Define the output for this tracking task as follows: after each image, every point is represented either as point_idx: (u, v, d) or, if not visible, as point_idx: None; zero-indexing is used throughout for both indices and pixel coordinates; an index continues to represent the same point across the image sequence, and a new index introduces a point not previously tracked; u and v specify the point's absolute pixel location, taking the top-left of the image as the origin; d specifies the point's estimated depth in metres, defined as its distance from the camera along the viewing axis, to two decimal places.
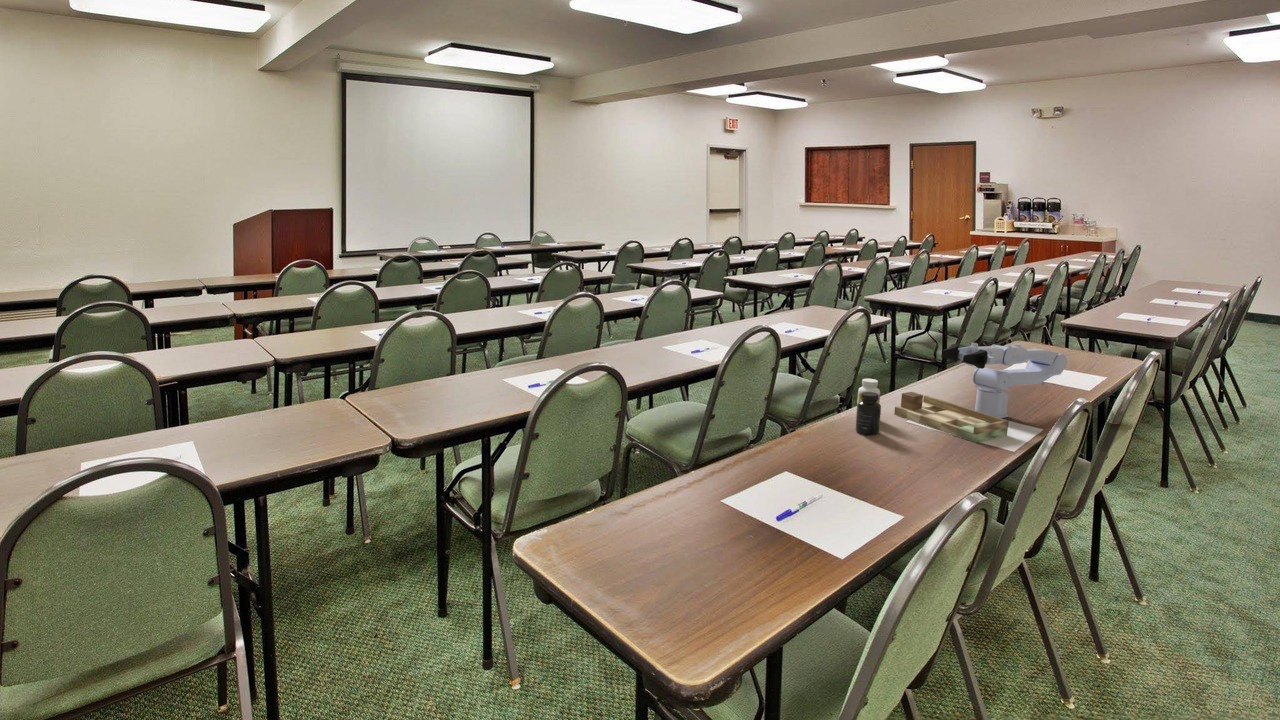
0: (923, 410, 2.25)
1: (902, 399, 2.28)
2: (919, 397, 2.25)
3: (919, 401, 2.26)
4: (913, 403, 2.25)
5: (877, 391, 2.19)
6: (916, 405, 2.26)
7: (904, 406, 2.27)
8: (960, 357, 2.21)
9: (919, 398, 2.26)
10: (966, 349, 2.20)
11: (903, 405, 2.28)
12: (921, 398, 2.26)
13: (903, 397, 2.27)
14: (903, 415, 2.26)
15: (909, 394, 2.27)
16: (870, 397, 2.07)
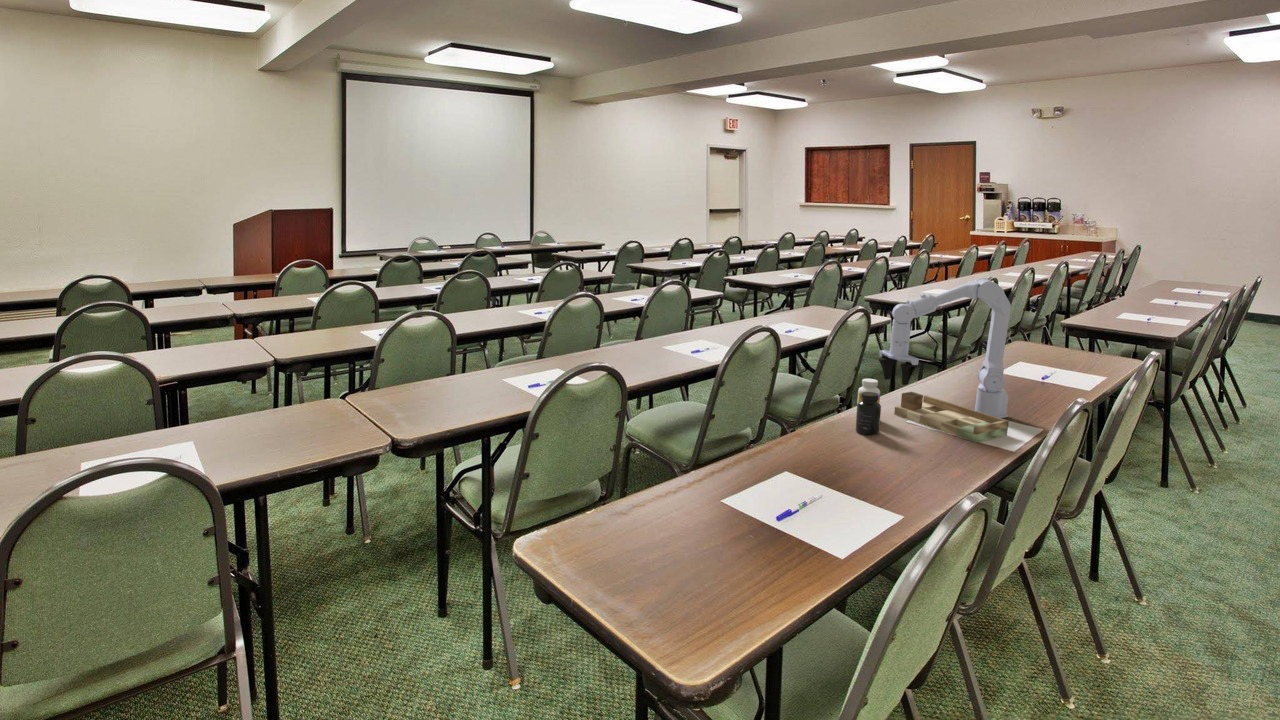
0: (923, 410, 2.25)
1: (902, 399, 2.28)
2: (919, 397, 2.25)
3: (919, 401, 2.26)
4: (913, 403, 2.25)
5: (877, 391, 2.19)
6: (916, 405, 2.26)
7: (904, 406, 2.27)
8: None
9: (919, 398, 2.26)
10: None
11: (903, 405, 2.28)
12: (921, 398, 2.26)
13: (903, 397, 2.27)
14: (903, 415, 2.26)
15: (909, 394, 2.27)
16: (870, 397, 2.07)
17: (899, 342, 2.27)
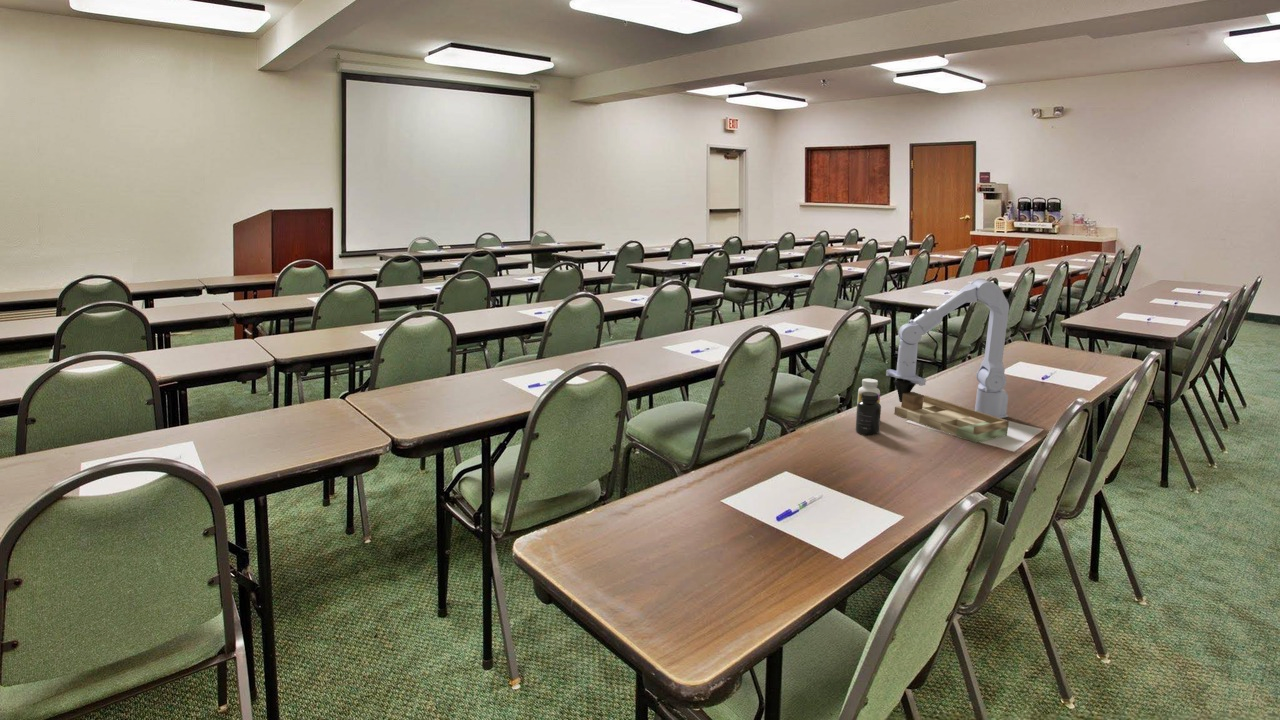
0: (923, 410, 2.25)
1: (903, 399, 2.28)
2: (920, 397, 2.25)
3: (920, 401, 2.26)
4: (914, 403, 2.24)
5: (877, 391, 2.19)
6: (917, 405, 2.25)
7: (905, 406, 2.27)
8: None
9: (920, 399, 2.25)
10: None
11: (904, 405, 2.27)
12: (922, 398, 2.26)
13: (904, 397, 2.27)
14: (903, 415, 2.26)
15: (910, 394, 2.26)
16: (870, 397, 2.07)
17: (906, 362, 2.25)
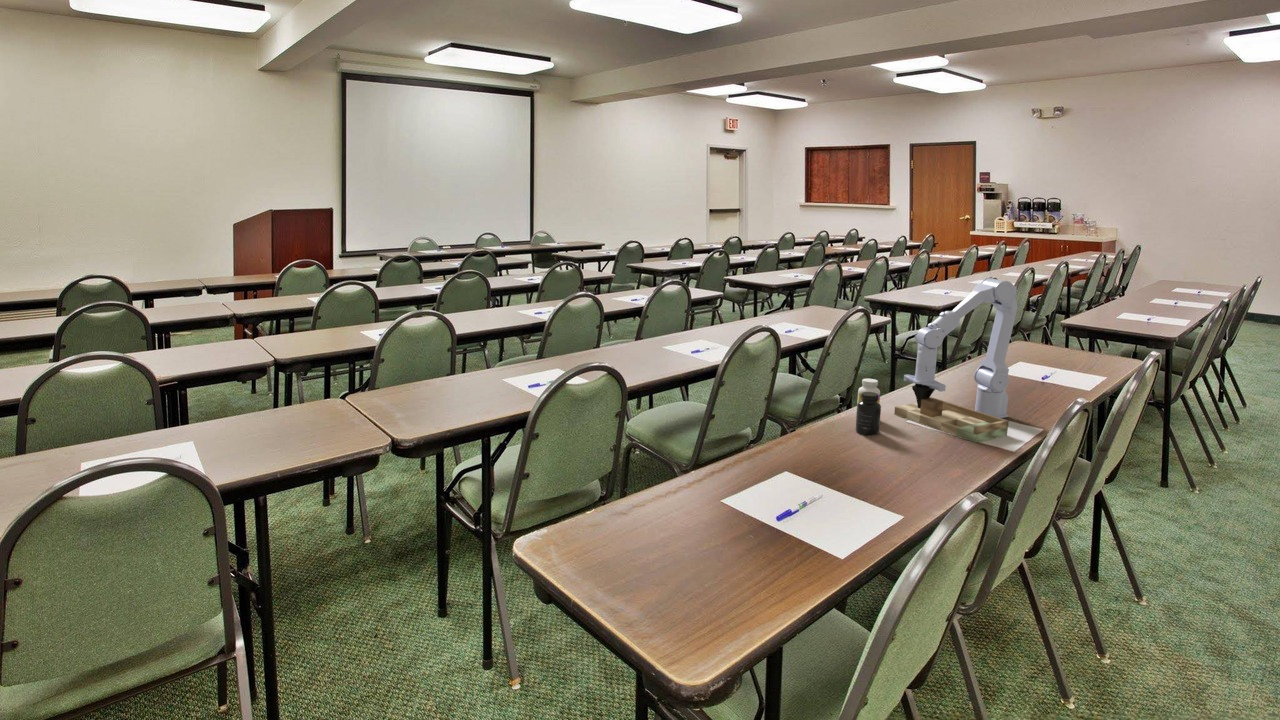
0: None
1: (921, 405, 2.21)
2: (939, 403, 2.19)
3: (939, 408, 2.19)
4: (933, 409, 2.18)
5: (877, 391, 2.19)
6: (936, 412, 2.19)
7: (923, 413, 2.21)
8: None
9: (939, 405, 2.19)
10: None
11: (922, 411, 2.21)
12: (941, 404, 2.19)
13: (923, 403, 2.21)
14: (903, 415, 2.26)
15: (929, 400, 2.20)
16: (870, 397, 2.07)
17: (925, 367, 2.19)
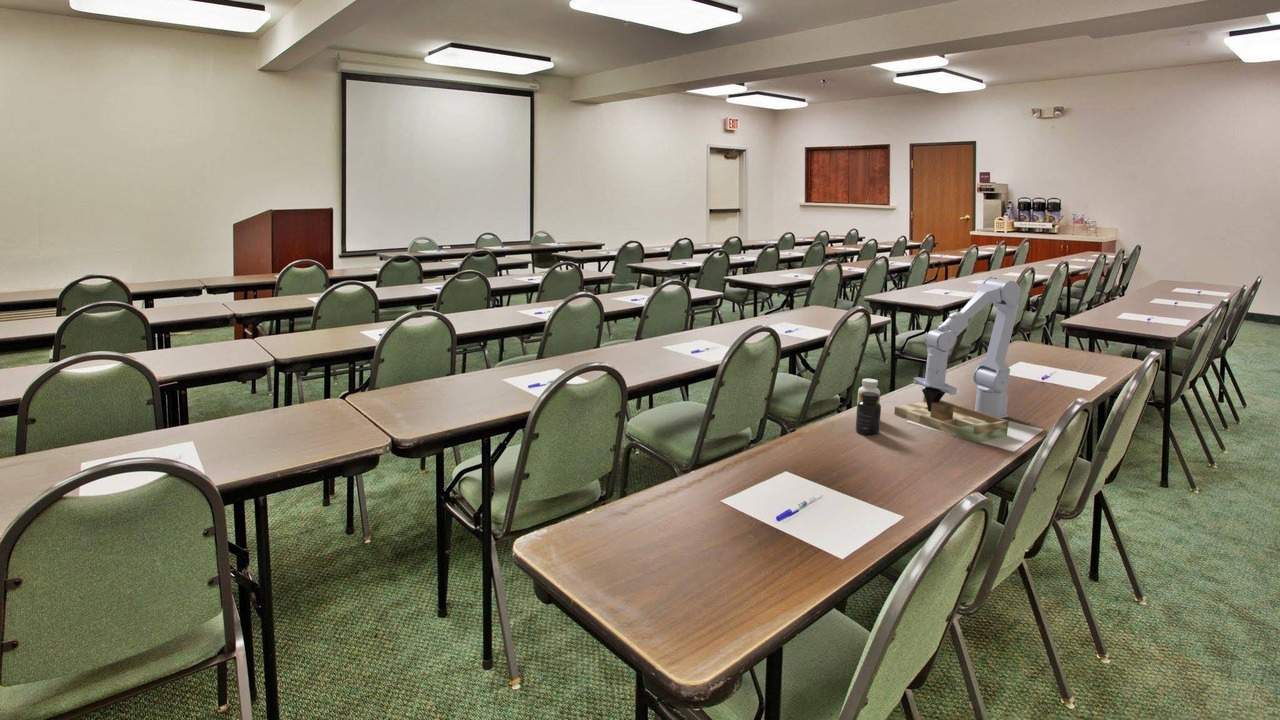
0: (923, 410, 2.25)
1: (932, 409, 2.18)
2: (950, 407, 2.15)
3: (950, 411, 2.16)
4: (944, 413, 2.15)
5: (877, 391, 2.19)
6: (947, 415, 2.15)
7: (934, 416, 2.17)
8: None
9: (950, 408, 2.15)
10: None
11: (933, 415, 2.18)
12: (952, 408, 2.16)
13: (933, 407, 2.17)
14: (903, 415, 2.26)
15: (939, 404, 2.16)
16: (870, 397, 2.07)
17: (936, 370, 2.15)
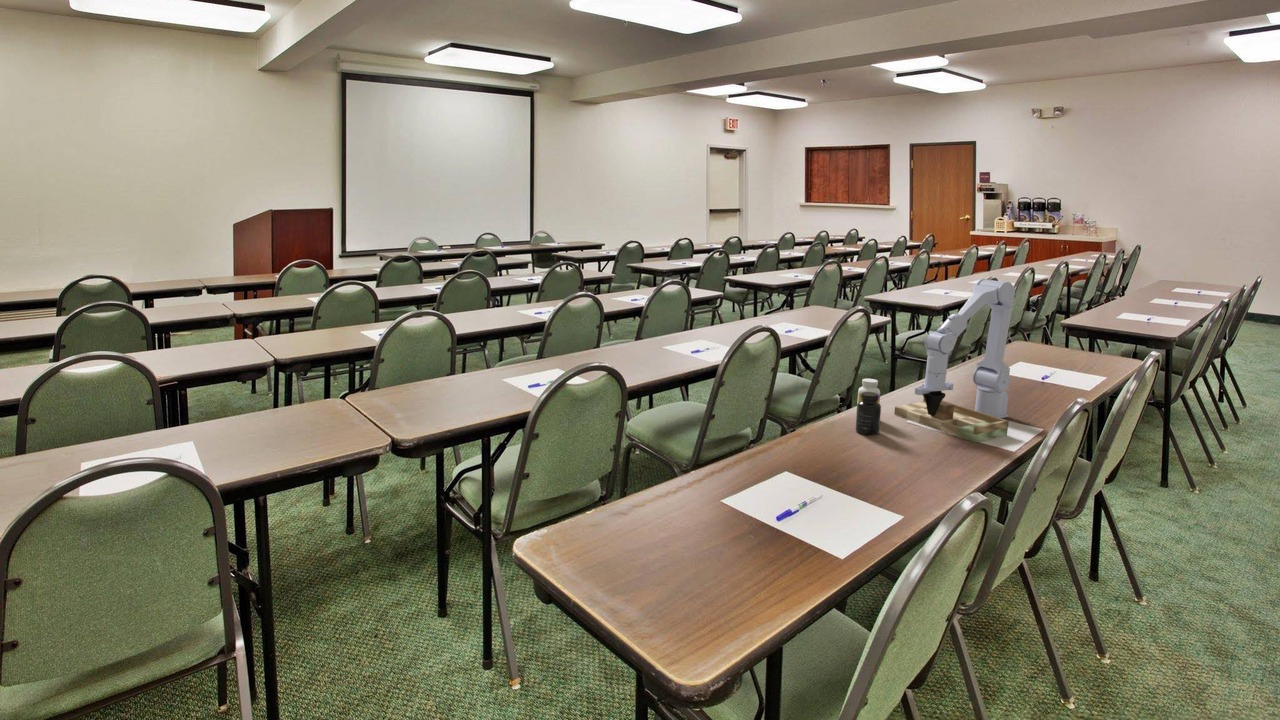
0: (923, 410, 2.25)
1: None
2: (950, 407, 2.15)
3: (950, 411, 2.16)
4: (945, 412, 2.15)
5: (877, 391, 2.19)
6: (947, 415, 2.15)
7: None
8: None
9: (950, 408, 2.15)
10: None
11: None
12: (952, 408, 2.16)
13: None
14: (903, 415, 2.26)
15: (940, 403, 2.17)
16: (870, 397, 2.07)
17: (926, 370, 2.15)
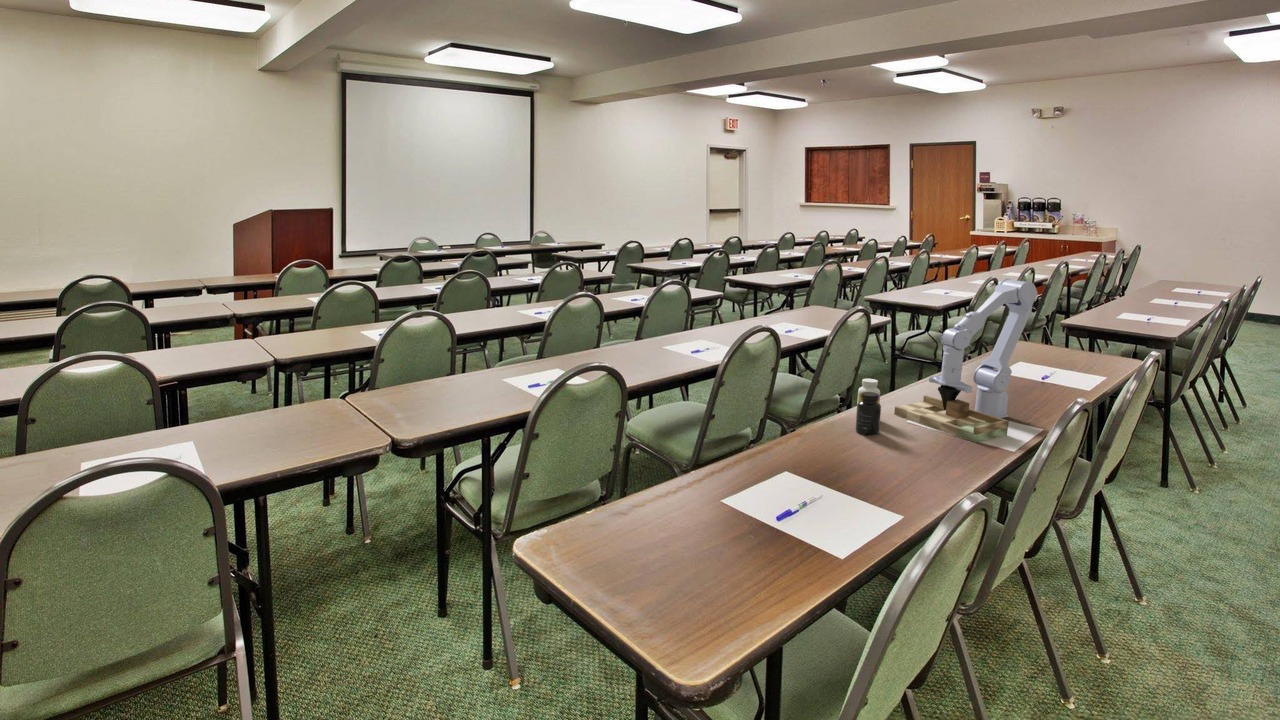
0: (923, 410, 2.25)
1: (947, 407, 2.20)
2: (965, 405, 2.17)
3: (965, 409, 2.17)
4: (959, 411, 2.16)
5: (877, 391, 2.19)
6: (962, 413, 2.17)
7: (949, 414, 2.19)
8: None
9: (965, 407, 2.17)
10: None
11: (948, 413, 2.20)
12: (967, 406, 2.18)
13: (948, 405, 2.19)
14: (903, 415, 2.26)
15: (955, 402, 2.18)
16: (870, 397, 2.07)
17: (952, 369, 2.17)
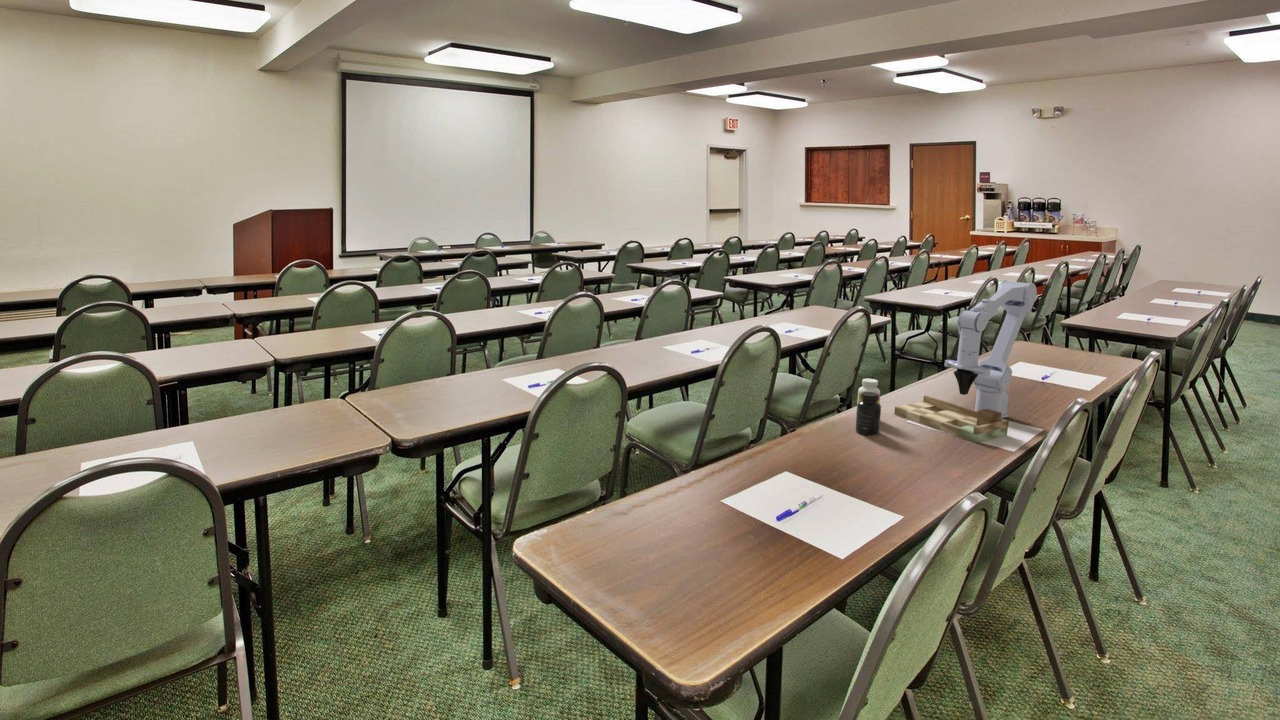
0: (923, 410, 2.25)
1: (978, 417, 2.10)
2: (997, 415, 2.08)
3: (997, 419, 2.08)
4: (992, 421, 2.07)
5: (877, 391, 2.19)
6: None
7: (980, 424, 2.10)
8: None
9: (997, 416, 2.08)
10: None
11: (979, 423, 2.10)
12: (999, 416, 2.08)
13: (979, 415, 2.10)
14: (903, 415, 2.26)
15: (986, 411, 2.09)
16: (870, 397, 2.07)
17: (969, 352, 2.11)
